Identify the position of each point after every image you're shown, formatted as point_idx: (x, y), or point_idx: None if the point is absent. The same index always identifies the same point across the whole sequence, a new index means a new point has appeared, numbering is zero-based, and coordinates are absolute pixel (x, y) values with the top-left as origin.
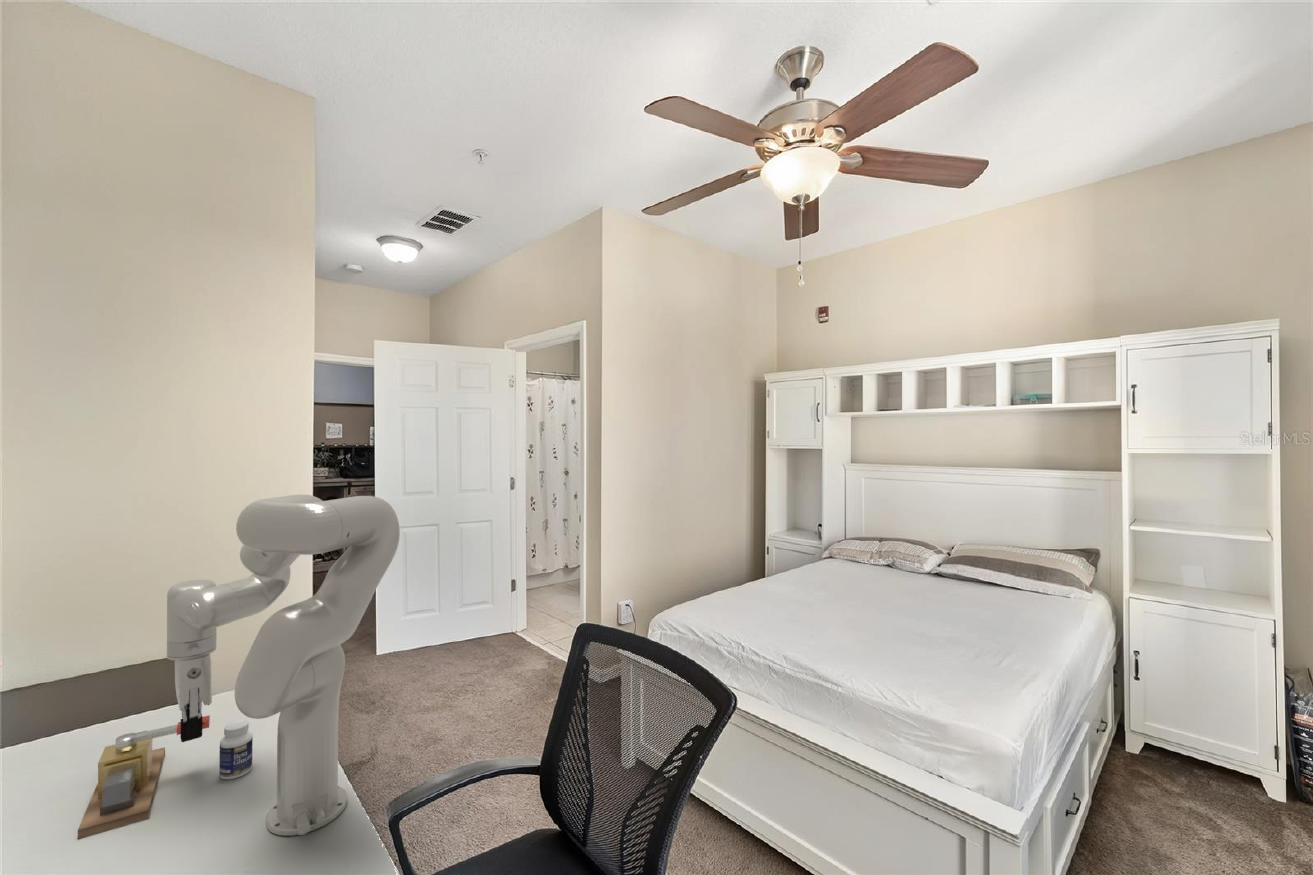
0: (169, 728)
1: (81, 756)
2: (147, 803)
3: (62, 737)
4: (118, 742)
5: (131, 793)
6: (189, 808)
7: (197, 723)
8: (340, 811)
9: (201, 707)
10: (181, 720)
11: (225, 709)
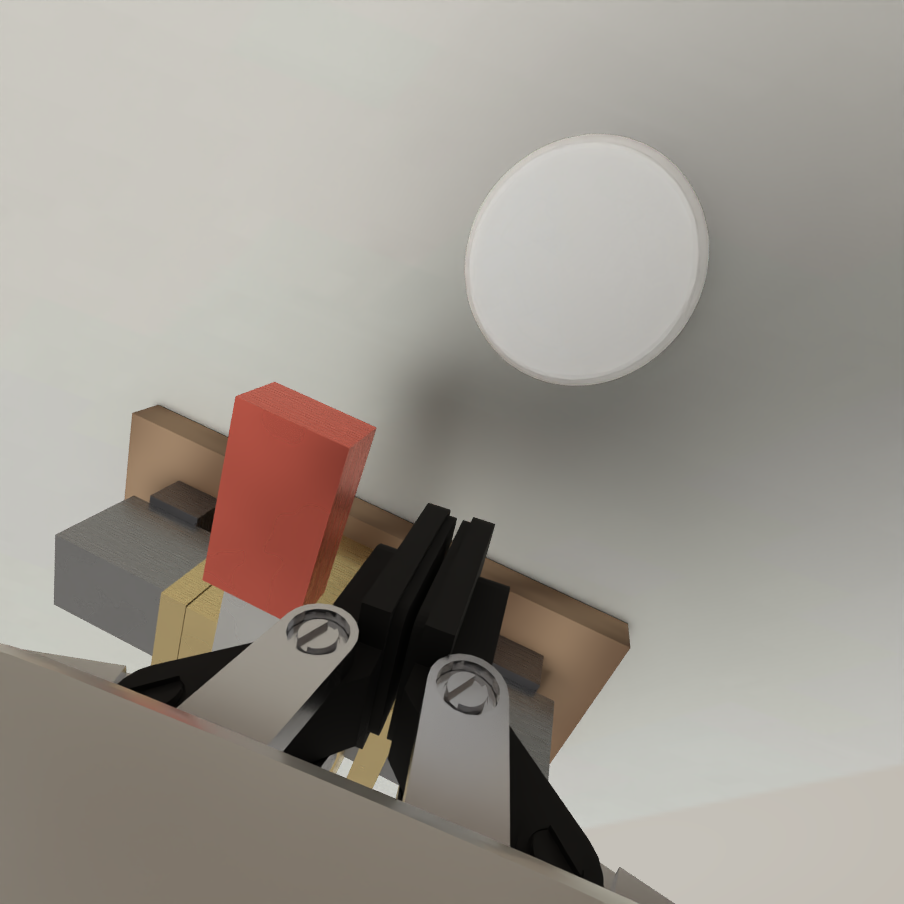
0: (254, 637)
1: (15, 554)
2: (571, 628)
3: None
4: None
5: (516, 689)
6: (713, 524)
7: (493, 654)
8: None
9: (507, 841)
10: (363, 740)
11: None
